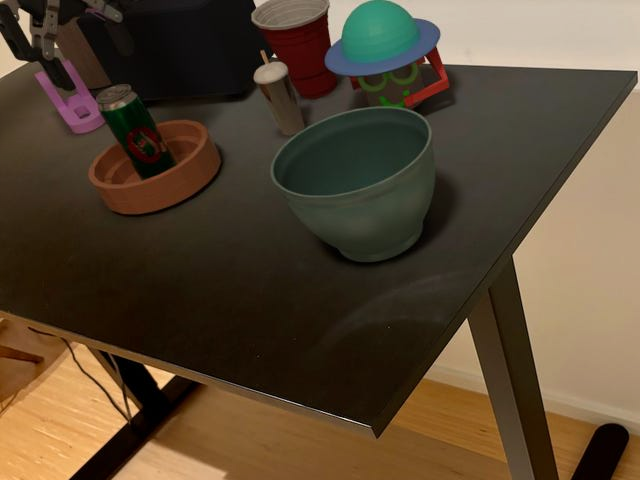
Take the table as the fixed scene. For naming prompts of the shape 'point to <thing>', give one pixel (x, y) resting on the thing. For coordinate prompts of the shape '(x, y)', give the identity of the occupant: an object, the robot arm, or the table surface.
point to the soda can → (135, 131)
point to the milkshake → (279, 95)
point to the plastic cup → (299, 41)
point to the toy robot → (387, 54)
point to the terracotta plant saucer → (166, 188)
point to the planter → (81, 55)
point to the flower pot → (360, 180)
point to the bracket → (74, 102)
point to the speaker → (182, 48)
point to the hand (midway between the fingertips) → (99, 71)
